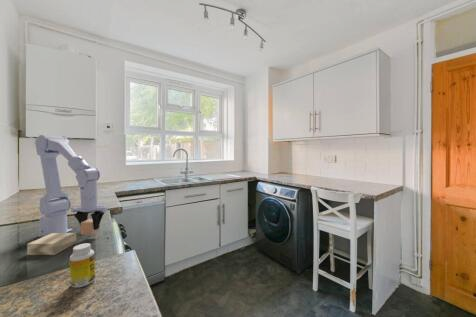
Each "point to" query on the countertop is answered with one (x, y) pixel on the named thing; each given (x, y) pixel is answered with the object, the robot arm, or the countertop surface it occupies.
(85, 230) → the block
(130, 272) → the countertop surface
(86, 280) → the supplement bottle
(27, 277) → the countertop surface
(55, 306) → the countertop surface
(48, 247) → the base
